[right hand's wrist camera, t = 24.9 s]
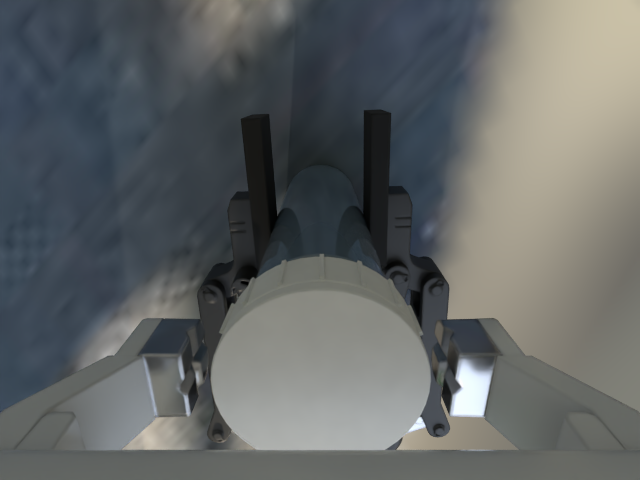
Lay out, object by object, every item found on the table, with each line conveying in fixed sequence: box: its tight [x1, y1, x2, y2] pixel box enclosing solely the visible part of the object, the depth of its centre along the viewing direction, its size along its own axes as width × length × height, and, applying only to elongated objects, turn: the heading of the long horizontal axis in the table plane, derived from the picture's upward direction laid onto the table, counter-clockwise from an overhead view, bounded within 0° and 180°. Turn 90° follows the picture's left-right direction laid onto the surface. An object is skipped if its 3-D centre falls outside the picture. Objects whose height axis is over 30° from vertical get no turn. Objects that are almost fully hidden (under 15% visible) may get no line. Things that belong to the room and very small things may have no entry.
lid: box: [211, 254, 431, 450], centre depth 9 cm, size 5×5×2 cm
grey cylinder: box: [255, 165, 386, 279], centre depth 17 cm, size 4×4×16 cm
